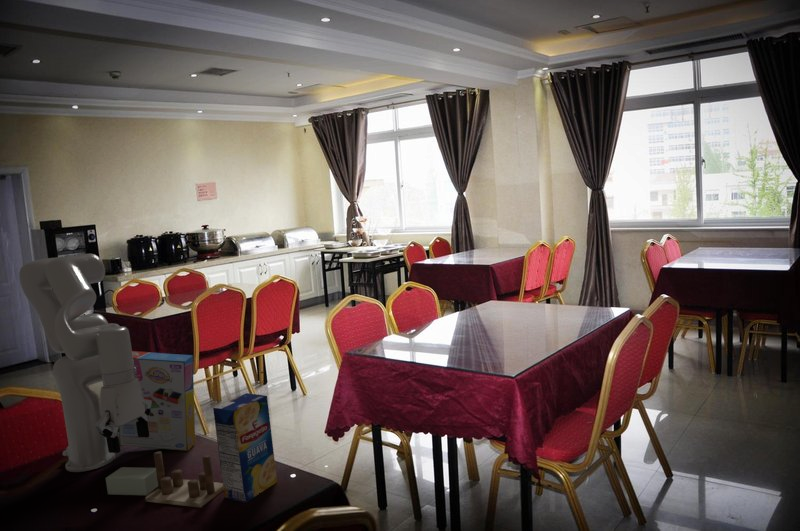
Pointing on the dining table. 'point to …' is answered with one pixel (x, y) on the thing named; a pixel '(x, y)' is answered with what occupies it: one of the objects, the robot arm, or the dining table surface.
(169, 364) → the game box
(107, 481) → the pale green rectangular block
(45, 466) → the dining table surface
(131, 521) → the dining table surface
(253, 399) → the beverage box
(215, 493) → the rack
